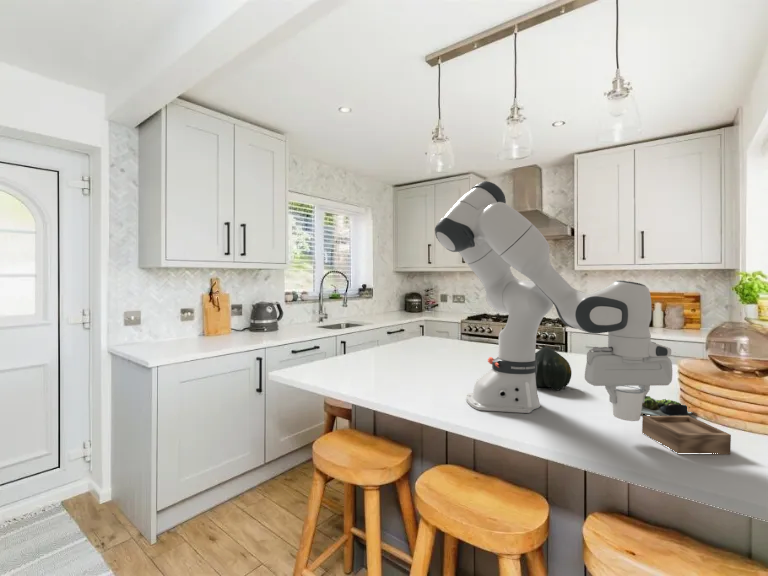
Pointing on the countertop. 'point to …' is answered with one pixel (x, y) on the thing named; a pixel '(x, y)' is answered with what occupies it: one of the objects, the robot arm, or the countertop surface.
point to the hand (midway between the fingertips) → (626, 402)
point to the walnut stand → (686, 434)
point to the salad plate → (663, 408)
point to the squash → (552, 369)
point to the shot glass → (628, 403)
